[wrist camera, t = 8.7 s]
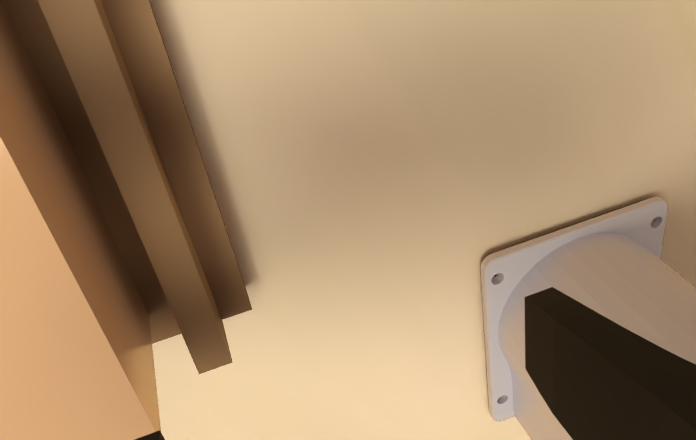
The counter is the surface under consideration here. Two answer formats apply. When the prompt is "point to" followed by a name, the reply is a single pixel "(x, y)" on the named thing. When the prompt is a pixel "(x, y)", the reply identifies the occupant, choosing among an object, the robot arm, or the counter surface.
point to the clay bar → (61, 283)
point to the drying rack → (139, 162)
